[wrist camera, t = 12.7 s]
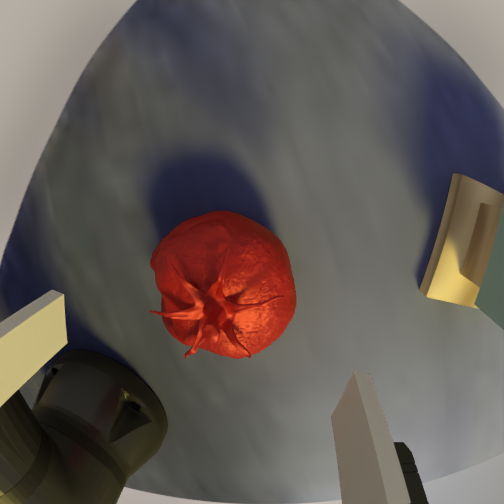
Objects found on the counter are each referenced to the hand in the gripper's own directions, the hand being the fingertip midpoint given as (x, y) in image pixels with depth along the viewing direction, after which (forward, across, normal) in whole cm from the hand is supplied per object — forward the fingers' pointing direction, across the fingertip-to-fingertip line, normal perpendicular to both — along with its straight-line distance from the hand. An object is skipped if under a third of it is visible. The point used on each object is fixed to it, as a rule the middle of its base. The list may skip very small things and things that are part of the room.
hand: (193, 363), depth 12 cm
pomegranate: (+13, 0, 0) cm, 13 cm away
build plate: (+12, +20, +7) cm, 25 cm away
